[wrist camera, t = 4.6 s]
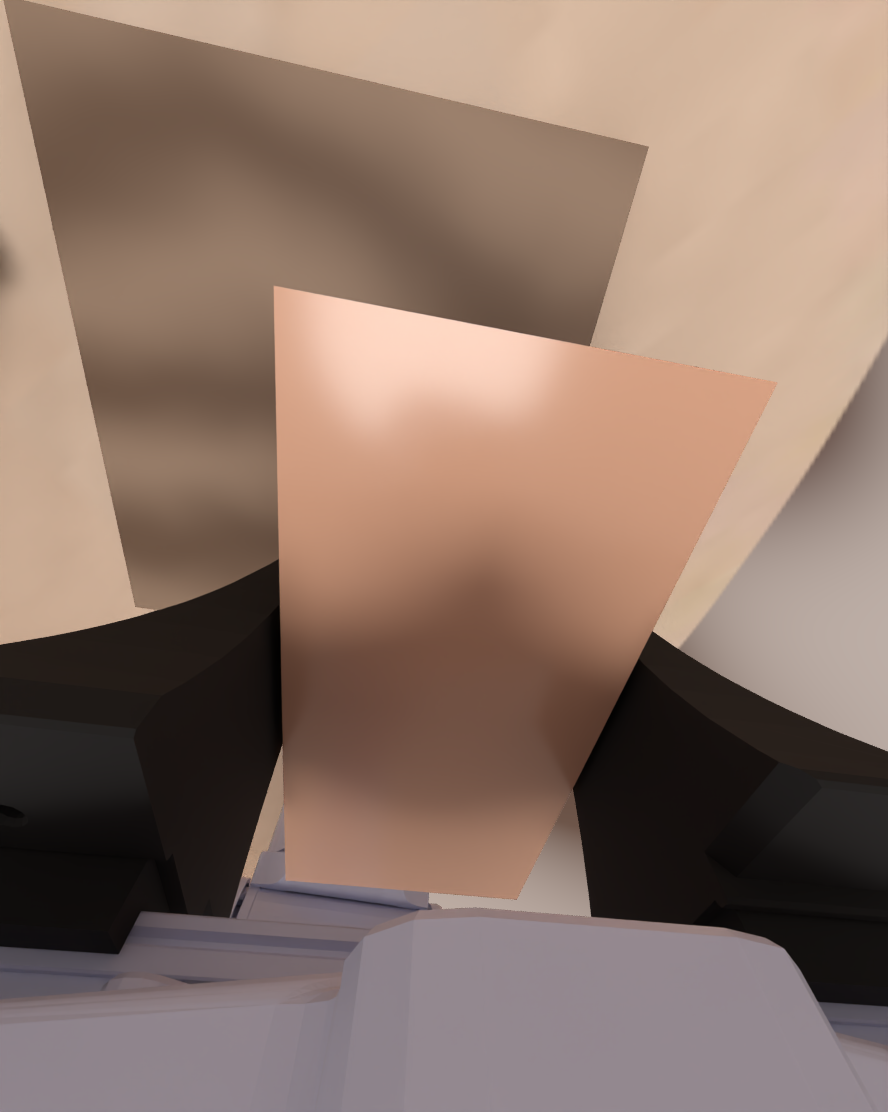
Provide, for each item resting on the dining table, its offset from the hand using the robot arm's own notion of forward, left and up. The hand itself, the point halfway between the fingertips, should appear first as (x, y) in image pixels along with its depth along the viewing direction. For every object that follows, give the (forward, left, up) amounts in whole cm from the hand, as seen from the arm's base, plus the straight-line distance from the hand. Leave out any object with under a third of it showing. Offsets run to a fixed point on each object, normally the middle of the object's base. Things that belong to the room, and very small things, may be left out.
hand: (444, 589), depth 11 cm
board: (+2, +5, -9) cm, 11 cm away
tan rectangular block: (0, 0, -2) cm, 2 cm away
